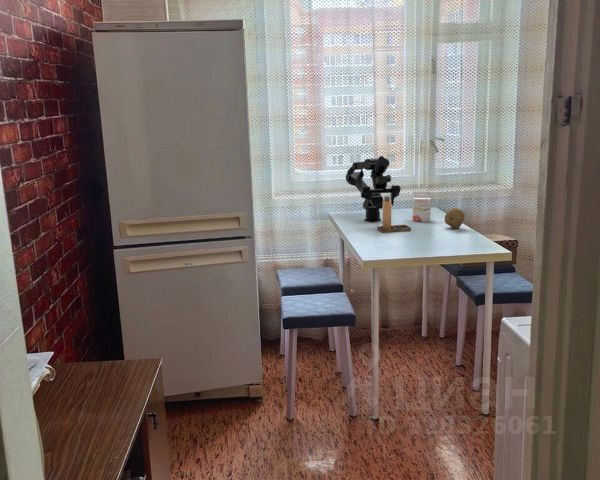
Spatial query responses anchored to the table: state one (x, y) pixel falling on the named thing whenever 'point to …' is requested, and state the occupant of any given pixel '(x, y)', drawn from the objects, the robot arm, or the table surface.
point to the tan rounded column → (387, 213)
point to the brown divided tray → (394, 228)
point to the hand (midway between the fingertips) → (383, 205)
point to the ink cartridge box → (421, 206)
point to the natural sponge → (454, 218)
